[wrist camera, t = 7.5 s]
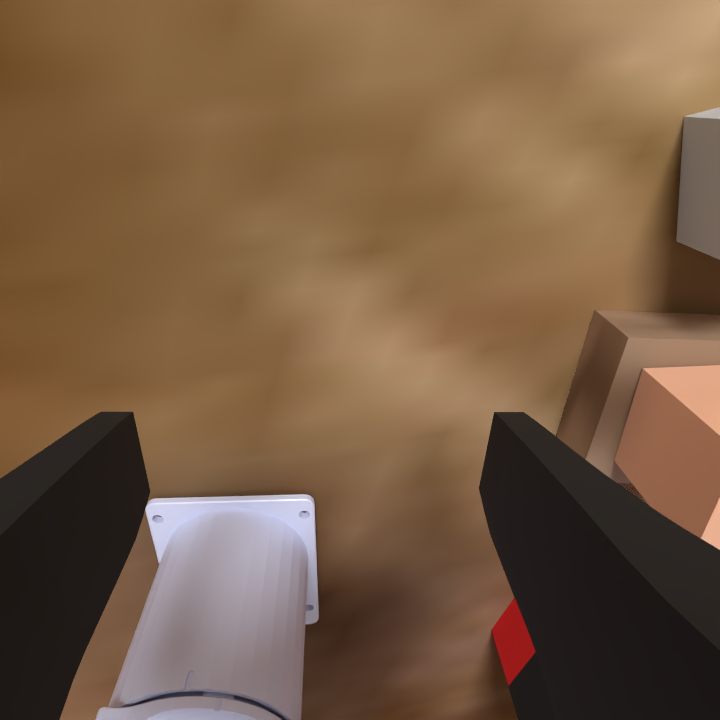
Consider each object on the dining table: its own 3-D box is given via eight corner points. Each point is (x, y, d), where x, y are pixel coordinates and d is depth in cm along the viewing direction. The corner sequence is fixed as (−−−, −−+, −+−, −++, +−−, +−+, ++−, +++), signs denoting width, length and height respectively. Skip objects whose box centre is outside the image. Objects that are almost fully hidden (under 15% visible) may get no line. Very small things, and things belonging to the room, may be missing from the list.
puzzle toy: (573, 513, 26) (697, 726, 17) (725, 548, 28) (905, 754, 19) (491, 629, 31) (556, 846, 22) (627, 652, 32) (738, 859, 24)
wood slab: (685, 442, 25) (728, 484, 22) (550, 440, 24) (577, 483, 22) (746, 312, 21) (805, 343, 19) (590, 306, 21) (628, 337, 18)
